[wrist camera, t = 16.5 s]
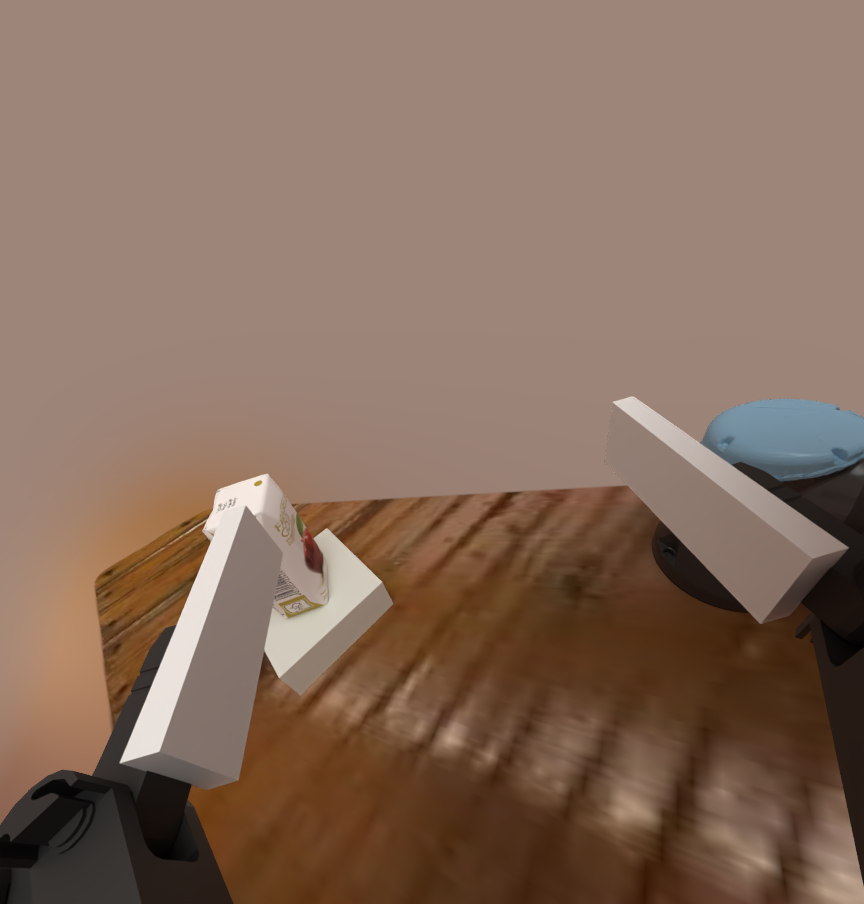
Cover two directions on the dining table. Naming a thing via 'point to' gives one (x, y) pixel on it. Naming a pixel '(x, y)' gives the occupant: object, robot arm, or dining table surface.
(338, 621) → the stacking block
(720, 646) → the dining table surface
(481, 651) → the dining table surface
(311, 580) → the juice carton
